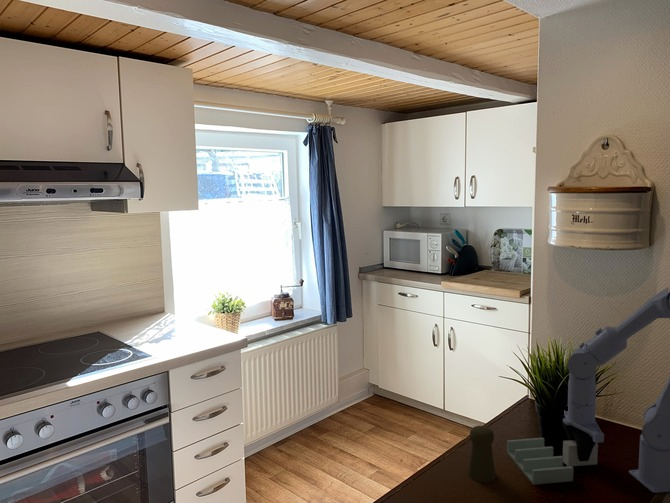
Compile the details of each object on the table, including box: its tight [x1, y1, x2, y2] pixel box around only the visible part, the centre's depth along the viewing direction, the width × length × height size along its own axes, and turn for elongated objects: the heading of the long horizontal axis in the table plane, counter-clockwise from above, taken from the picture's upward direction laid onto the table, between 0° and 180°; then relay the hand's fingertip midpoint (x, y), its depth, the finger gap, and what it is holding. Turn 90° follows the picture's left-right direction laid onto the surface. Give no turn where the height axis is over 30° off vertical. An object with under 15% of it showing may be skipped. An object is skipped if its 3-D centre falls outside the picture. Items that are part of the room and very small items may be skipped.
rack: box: [506, 437, 574, 485], centre depth 119 cm, size 9×14×3 cm, turn 5°
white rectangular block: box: [562, 440, 599, 467], centre depth 120 cm, size 7×2×5 cm, turn 95°
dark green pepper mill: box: [467, 425, 496, 483], centre depth 116 cm, size 6×6×11 cm
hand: (579, 456), depth 120 cm, fingers closed on white rectangular block, 2 cm apart
